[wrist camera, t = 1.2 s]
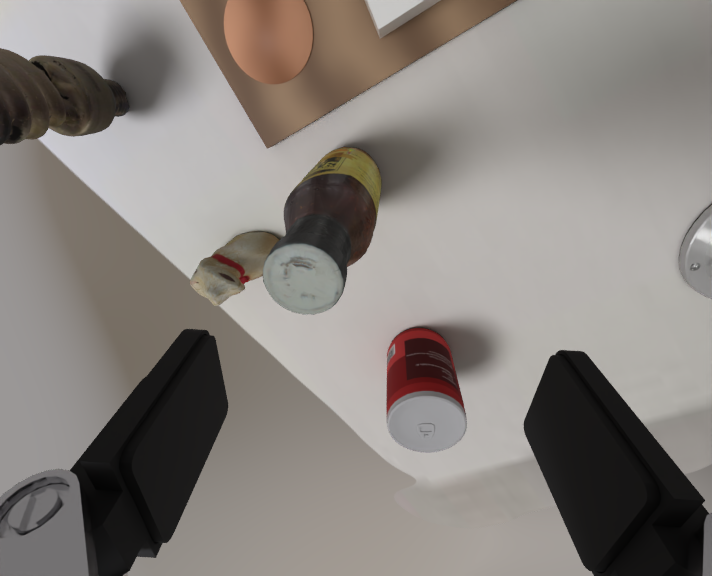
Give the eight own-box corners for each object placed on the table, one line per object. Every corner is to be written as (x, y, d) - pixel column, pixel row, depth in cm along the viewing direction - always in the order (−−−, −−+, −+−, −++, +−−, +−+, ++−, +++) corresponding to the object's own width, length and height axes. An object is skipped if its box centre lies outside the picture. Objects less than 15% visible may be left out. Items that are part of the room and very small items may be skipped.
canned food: (400, 383, 46) (403, 459, 36) (376, 336, 42) (373, 407, 33) (458, 367, 44) (477, 444, 34) (438, 317, 40) (453, 387, 31)
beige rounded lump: (217, 219, 37) (164, 259, 28) (291, 237, 37) (261, 282, 28) (216, 265, 40) (167, 314, 31) (284, 282, 40) (255, 335, 31)
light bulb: (78, 95, 32) (-137, 96, 19) (102, 41, 30) (-122, 2, 17) (134, 141, 34) (-29, 172, 21) (160, 94, 31) (-2, 95, 18)
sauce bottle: (341, 129, 32) (285, 175, 14) (395, 173, 33) (403, 262, 16) (303, 188, 34) (217, 284, 17) (354, 226, 36) (322, 350, 19)
